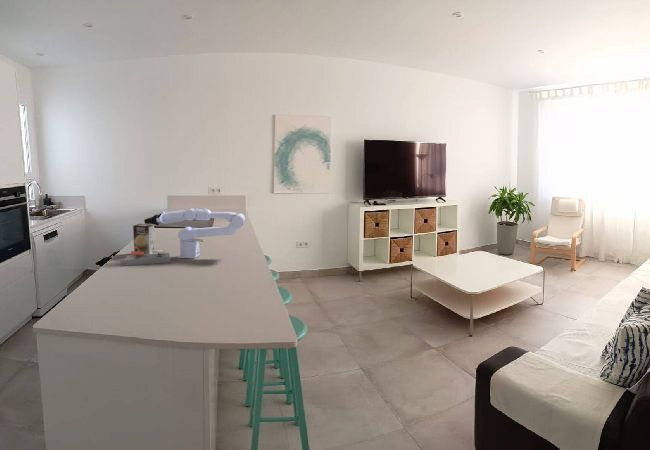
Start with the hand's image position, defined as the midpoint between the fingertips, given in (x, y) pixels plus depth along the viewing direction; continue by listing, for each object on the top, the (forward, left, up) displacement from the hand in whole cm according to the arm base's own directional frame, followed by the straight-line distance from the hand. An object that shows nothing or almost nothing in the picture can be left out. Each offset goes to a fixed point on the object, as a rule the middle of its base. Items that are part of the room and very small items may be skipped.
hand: (147, 220), depth 211 cm
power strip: (-5, +11, -19) cm, 23 cm away
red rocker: (+1, +11, -15) cm, 19 cm away
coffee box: (+5, -6, -20) cm, 21 cm away
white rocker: (-9, +7, -15) cm, 19 cm away
